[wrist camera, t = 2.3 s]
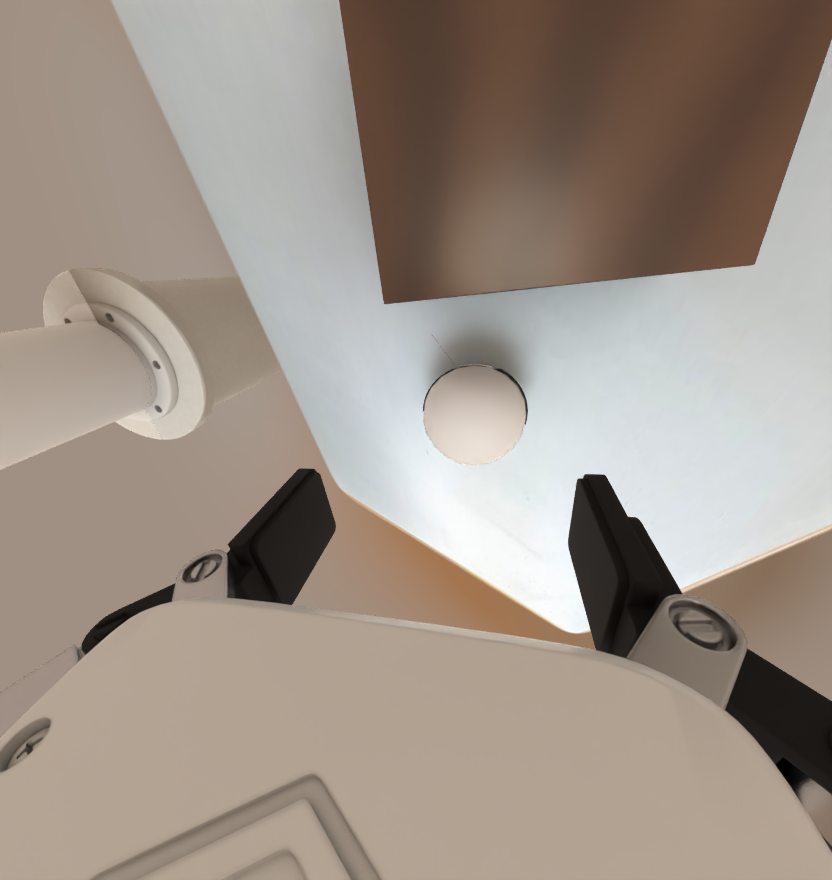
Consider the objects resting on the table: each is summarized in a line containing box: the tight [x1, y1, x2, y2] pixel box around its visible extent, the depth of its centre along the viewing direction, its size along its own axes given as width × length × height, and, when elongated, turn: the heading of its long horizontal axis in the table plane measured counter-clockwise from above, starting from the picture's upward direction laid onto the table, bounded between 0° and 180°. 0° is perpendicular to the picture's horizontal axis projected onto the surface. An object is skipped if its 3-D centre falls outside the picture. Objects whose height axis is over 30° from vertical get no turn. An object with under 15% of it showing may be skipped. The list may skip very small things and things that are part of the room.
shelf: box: [339, 0, 832, 304], centre depth 14 cm, size 16×14×10 cm
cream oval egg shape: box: [423, 334, 528, 465], centre depth 22 cm, size 10×7×7 cm
